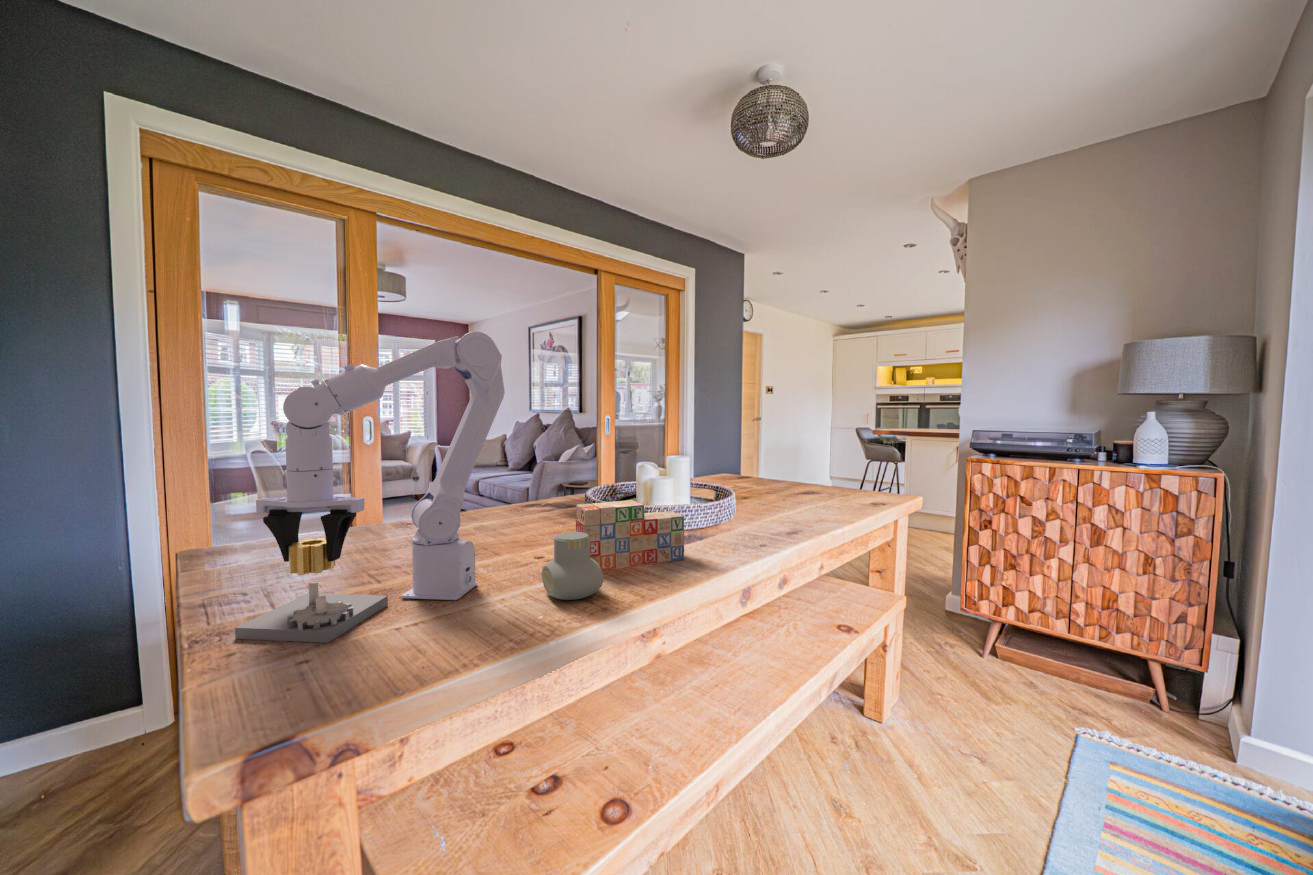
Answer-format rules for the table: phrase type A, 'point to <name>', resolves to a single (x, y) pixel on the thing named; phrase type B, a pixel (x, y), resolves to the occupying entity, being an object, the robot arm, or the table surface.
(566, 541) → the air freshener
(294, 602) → the gear board
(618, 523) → the stack of blocks
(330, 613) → the gear
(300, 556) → the brass gear
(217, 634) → the table surface
